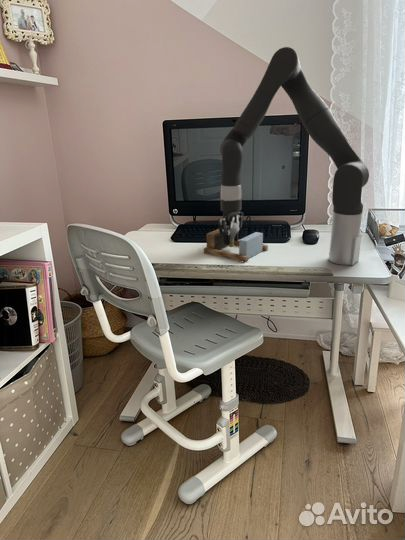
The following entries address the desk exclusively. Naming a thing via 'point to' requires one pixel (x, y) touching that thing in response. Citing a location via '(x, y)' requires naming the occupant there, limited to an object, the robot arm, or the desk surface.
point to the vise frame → (217, 243)
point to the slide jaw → (251, 244)
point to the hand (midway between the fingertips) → (231, 242)
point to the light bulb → (232, 233)
